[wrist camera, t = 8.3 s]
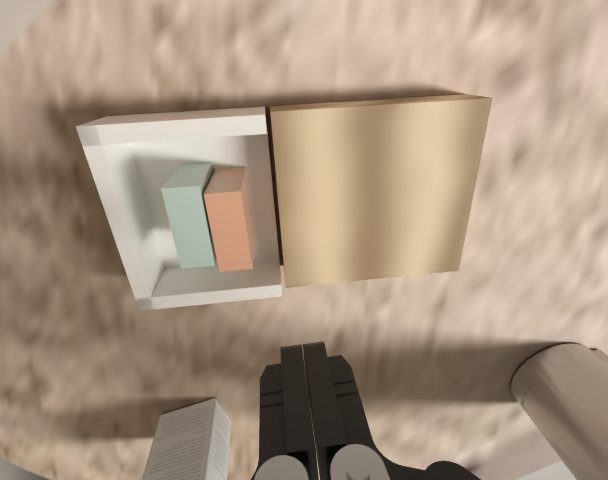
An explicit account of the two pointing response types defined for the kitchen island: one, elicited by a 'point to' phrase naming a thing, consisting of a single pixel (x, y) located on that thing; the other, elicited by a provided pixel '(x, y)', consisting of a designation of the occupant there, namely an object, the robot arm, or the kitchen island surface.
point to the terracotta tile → (230, 218)
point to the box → (151, 208)
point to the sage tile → (190, 214)
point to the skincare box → (191, 444)
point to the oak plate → (376, 185)
